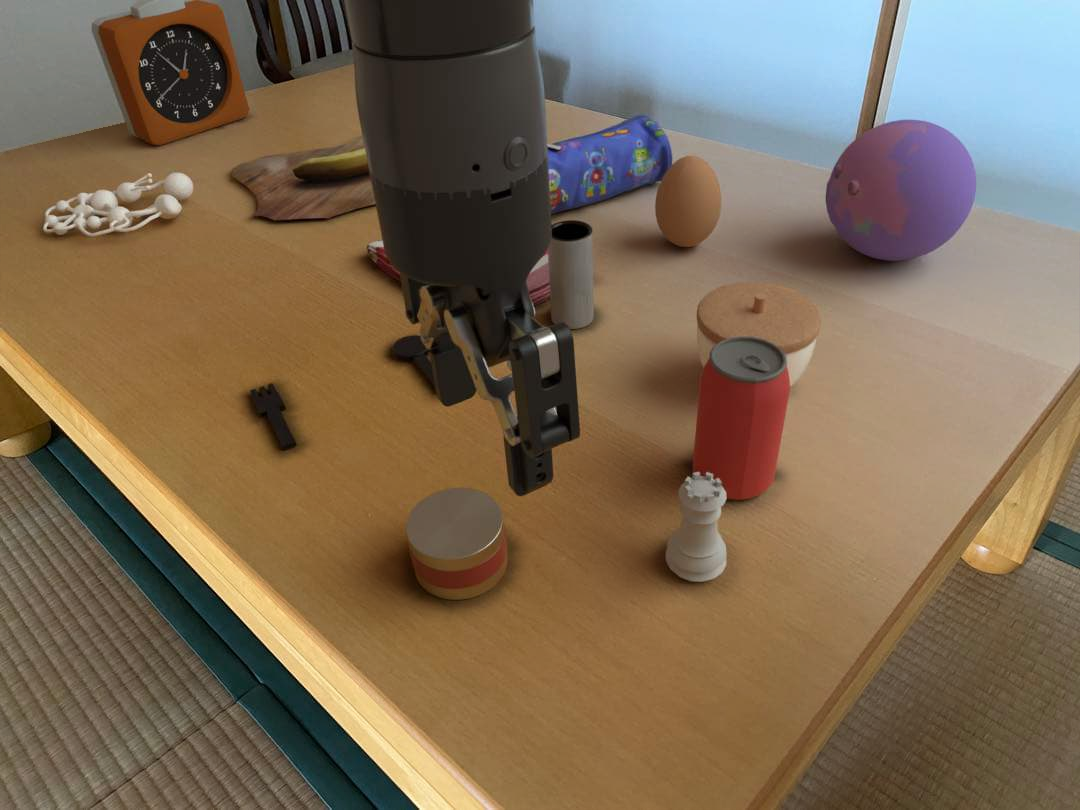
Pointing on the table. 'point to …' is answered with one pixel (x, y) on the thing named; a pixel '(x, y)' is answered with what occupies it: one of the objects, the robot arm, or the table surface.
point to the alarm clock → (171, 68)
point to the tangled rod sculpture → (118, 216)
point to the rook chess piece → (698, 531)
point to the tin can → (457, 543)
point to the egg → (688, 202)
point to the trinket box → (760, 321)
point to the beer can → (741, 415)
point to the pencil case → (607, 163)
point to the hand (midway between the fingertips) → (492, 440)
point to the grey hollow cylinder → (571, 273)
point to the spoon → (414, 355)
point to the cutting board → (310, 182)
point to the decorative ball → (901, 190)
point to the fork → (274, 414)
